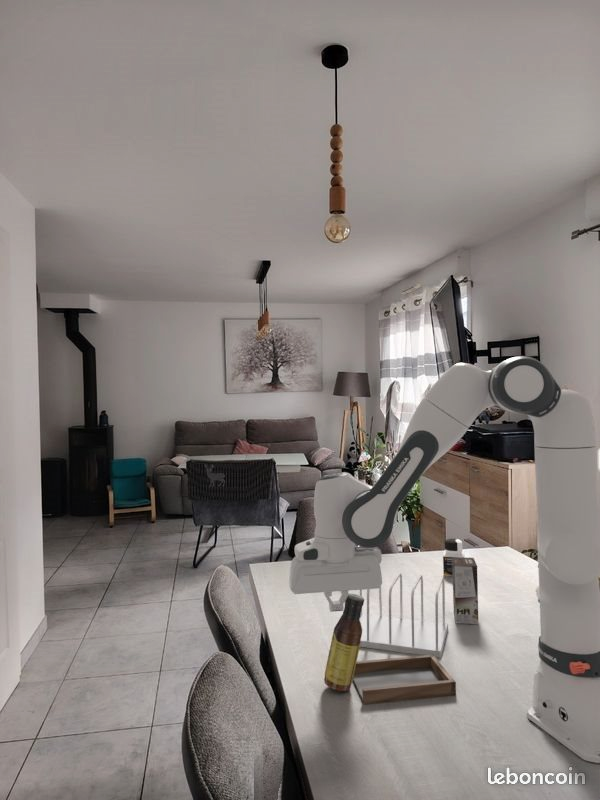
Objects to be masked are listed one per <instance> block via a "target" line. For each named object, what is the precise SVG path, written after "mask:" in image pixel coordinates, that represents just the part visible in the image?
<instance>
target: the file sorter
mask: <svg viewBox="0 0 600 800" xmlns="http://www.w3.org/2000/svg"><path fill="white" fill-rule="evenodd" d="M398 580H399V605H400V606H399V608H400V609H399V611H400V612H399V613H400V617H397V616H392V592H393V588H394V586H395V584H396V583H397V581H398ZM419 583H420V619H415V612H414V610H415V609H414V607H415V606H414V603H415V601H414V598H415V596H414V595H415V590H416V588H417V586H418V584H419ZM440 589H442V592H441V593H442V596H441V597H442V602H441V604H442V622H440V621H439V592H440ZM370 591H371V589H366V613H363V609H362V610H361V614H360V619H359V620H360V623H361V626H362V636H361V640H360V641H361V643H360V648H365V649H366V648H368V649H374V650H381V651H389V652H396V653H404V654H409V655H410V654H411V655H412V654H413V655H417V654H418V655H417V656H423V655H434V656H435V657H436V658H442V655H443V652H444V646H445V643H446V638H447V635H448V631H449V624H448V623H447V622H446V611H445V610H446V606H445V605H446V604H445V603H446V602H445V601H446V599H445V591H446V589H445V576H444V575H442V576H441V577H440V579H439V583H438V585H437V587H436V591H435V603H434V605H435V611H434V612H435V621H430V620H424V578H423V575H421V574H419V575H418V577H417V578H416V581H415V583H414V585H413V586H412V589H411V594H410V603H411V604H410V606H411V607H410V611H411V614H410V615H411V618H405V617H403V576H402V572H398V573H397V575H396V577H395V578H394V579H393V580H392V582H391V584H390V586H389V591H388V615H383V611H382V610H383V608H382V605H383V604H382V603H383V602H382V585H381V586H380V587H379V588H378V596H379V597H378V599H379V603H378V604H379V614H373V613H372V614H371V613H370ZM359 596H362V597H363V590H359ZM345 603H346V602H344V604H345Z"/></svg>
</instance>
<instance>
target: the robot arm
mask: <svg viewBox="0 0 600 800" xmlns="http://www.w3.org/2000/svg"><path fill="white" fill-rule="evenodd" d="M490 407H495V408H498V409H501V410H504V411H506V412H509V413H512V414H513V413H514V414H524V415H527V417H528V418H529V419H530V421H531V422H532V423H531V424H532V427H533V435H534V436H533V437H534V447H533V448H534V466H535V467H534V468H535V469H534V470H535V473H534V474H535V487H536V488H535V491H536V506H537V530H536V531H537V532H536V537H537V542H536V545H537V568H538V586H539V593H540V600H539V617H540V619H539V621H540V622H539V623H540V624H539V625H540V635H539V636H538V644H537V649H538V657H539V659H540V660H539V664H538V667H537V669H536V670H535V672H534V675H533V689H532V690H533V691H532V705H531V707H530V708H529V709H528V710H527V714H526V715H527V719H528V720H530V721H531V722H532V723H534V724H535V725H537V726H538V727H539V728H540V729H542V730H543V731H544V732H546V733H547V734H548V735H550V736H551V737H553V738H554V739H555V740H557V741H558V742H559V743H561V745H563V746H565V747H566V748H567V749H568V750H570V751H571V752H572V753H574V754H575V755H576V756H578V757H580V758H581V759H582V760H584V761H586V762H591V763H595V764H600V580H599V579H600V578H599V574H600V495H599V484H598V459H597V455H598V454H597V440H596V430H595V429H596V428H595V422H594V417H593V413H592V409H591V405H590V402H589V400H588V398H587V397H586V396H585V395H584V394H582V393H581V392H579V391H576V390H572V389H565V388H564V389H561V387H560V385H559V384H558V382H557V381H556V379H555V378H554V376H553V375H552V374H551V372H550V371H549V368H547V367H546V365H544V364H543V363H542V362H541V361H539V360H538V359H536V358H534V357H531V356H524V355H518V356H514V357H510V358H507V359H506V360H503V361H501V362H500V363H498V365H497V366H494V367H492V368H490V369H489V370H483V369H482V368H480V367H478V366H476V365H474V364H472V363H467V362H458V363H456V364H455V363H454V364H453V365H452V366H450V367H449V368H448V369H447V370H446V371H445V372H444V373H443V374H442V375H441V376H440V377H439V378H438V379H437V380H436V382H435V383H434V384H432V386H431V388H430V389H429V390H428V392H427V393H426V394H425V395H424V397H423V398H422V400H421V401H420V402H419V404H418V406H417V407H416V408H415V411H414V412H413V414H412V416H411V419H410V421H409V423H408V426H406V427H407V428H406V430H405V434H404V436H403V439H402V442H401V443H400V446H399V448H398V450H397V452H396V454H395V456H394V457H393V459H392V460H391V461H390V463H389V464H388V466H387V467H386V468H385V470H384V471H383V473H382V474H381V475H380V477H379V478H378V480H377V481H376V482H375V484H374V485H370V484H368V483H365V482H364V481H360V480H359V479H357V478H356V477H354V476H353V475H352V474H351V473H349V472H346V471H343V472H334V473H329V474H326V475H325V474H324V475H322V477H320V478H319V479H318V480H317V481H316V483H315V486H314V495H313V496H314V497H313V498H314V500H313V514H314V519H315V528H314V537H312V538H310V539H307V540H304V541H302V542H299V543H297V544H295V545H294V555H295V556H294V557H293V558H292V560H291V562H290V570H289V581H288V582H289V589H290V591H291V592H292V594H294V595H301V594H302V595H303V594H305V595H306V594H316V593H317V594H319V593H323V594H324V597H325V598H326V601H327V602H328V608H329V612H330V613H331V612H343V611H344V608H345V605H344V604H345V600H346V599H347V597H348V594H349V591H360V590H362V591H363V590H367V589H370V590H376V589H378V590H379V587H380V586H381V587H382V585H383V577H382V569H381V565H380V564H381V562H382V557H383V556H382V550H381V548H379V547H380V546H382V545H384V544H385V543H386V542H387V541H388V539H389V538H390V537H391V535H392V532H393V527H394V525H395V523H396V520H397V518H398V514H399V508H400V506H401V504H402V503H403V502H404V500H405V499H406V497H407V496H408V495H409V493H410V492H411V491H412V489H413V488H414V486H415V485H416V484H417V482H418V481H419V479H420V478H421V477H422V476H423V474H424V473H425V472H427V470H428V469H429V468H430V467H432V466H433V464H435V463H436V462H437V461H438V460H439V459H440V458H442V457H443V456H444V455H446V453H447V452H449V451H450V450H451V449H452V448H453V447H454V446H456V444H457V443H458V442H459V441H460V440H461V439H462V438H463V436H464V435H465V434H466V432H467V431H468V430H469V428H470V427H471V426H472V425H473V423H474V422H475V420H477V417H479V415H480V414H481V413H482V412H483V411H484V410H486V409H488V408H490ZM334 592H340V594H341V595H340V597H339V599H338V600H332V599H331V597H332V596H333V595H332V594H333V593H334Z"/></svg>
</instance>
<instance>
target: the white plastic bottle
mask: <svg viewBox="0 0 600 800" xmlns="http://www.w3.org/2000/svg"><path fill="white" fill-rule="evenodd" d="M452 558H465V551H464V550H463V541H462V540H460V539H459V538H447V539H445V540H444V551H443V553H442V565H443V566H442V567H443V571H442V572H443V576H444V577H445V576H446V577H453V575H452Z"/></svg>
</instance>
